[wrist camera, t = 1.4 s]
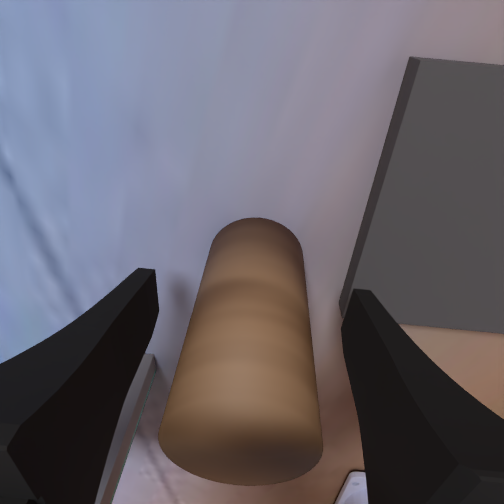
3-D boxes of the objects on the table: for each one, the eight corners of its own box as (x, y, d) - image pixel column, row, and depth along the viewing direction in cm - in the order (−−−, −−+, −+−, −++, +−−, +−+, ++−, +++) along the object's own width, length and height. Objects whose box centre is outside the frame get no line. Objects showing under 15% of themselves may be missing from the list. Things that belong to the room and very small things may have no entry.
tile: (156, 371, 20) (96, 548, 13) (51, 361, 20) (-60, 532, 14) (153, 354, 19) (89, 533, 13) (44, 343, 19) (-78, 516, 13)
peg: (295, 297, 16) (308, 492, 10) (209, 289, 16) (163, 477, 10) (310, 222, 14) (339, 408, 7) (210, 213, 14) (151, 390, 8)
